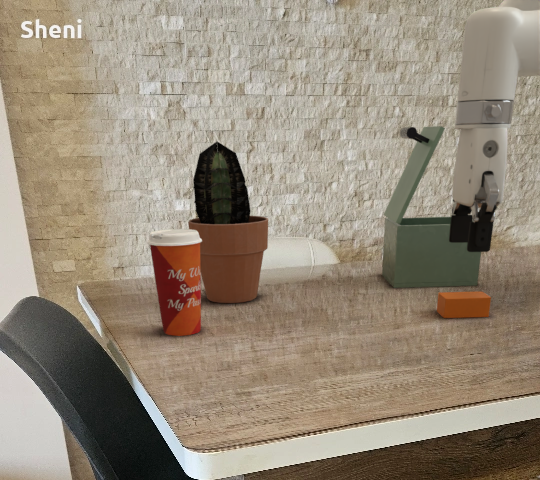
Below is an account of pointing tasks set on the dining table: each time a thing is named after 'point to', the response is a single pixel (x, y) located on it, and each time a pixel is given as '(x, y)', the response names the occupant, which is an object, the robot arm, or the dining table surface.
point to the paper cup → (177, 279)
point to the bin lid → (413, 169)
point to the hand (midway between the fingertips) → (468, 246)
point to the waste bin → (426, 255)
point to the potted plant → (227, 228)
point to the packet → (463, 304)
